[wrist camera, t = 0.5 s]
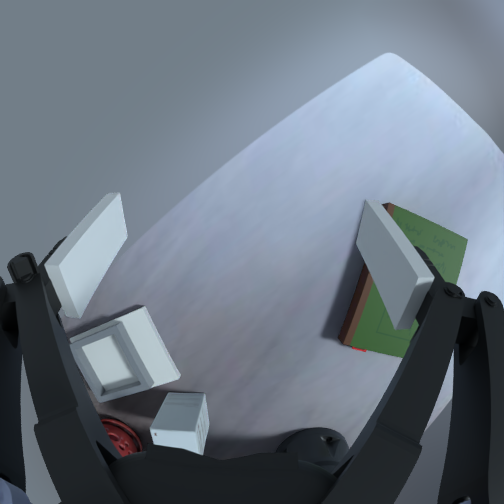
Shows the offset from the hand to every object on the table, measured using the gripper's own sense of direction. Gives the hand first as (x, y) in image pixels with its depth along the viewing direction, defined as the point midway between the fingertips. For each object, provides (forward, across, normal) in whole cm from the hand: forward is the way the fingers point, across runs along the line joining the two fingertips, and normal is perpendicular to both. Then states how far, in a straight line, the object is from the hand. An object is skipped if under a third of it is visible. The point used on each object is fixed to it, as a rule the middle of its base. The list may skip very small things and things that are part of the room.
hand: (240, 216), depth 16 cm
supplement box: (+12, +10, +46) cm, 48 cm away
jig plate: (+17, +22, +38) cm, 47 cm away
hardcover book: (+24, -29, +25) cm, 45 cm away
